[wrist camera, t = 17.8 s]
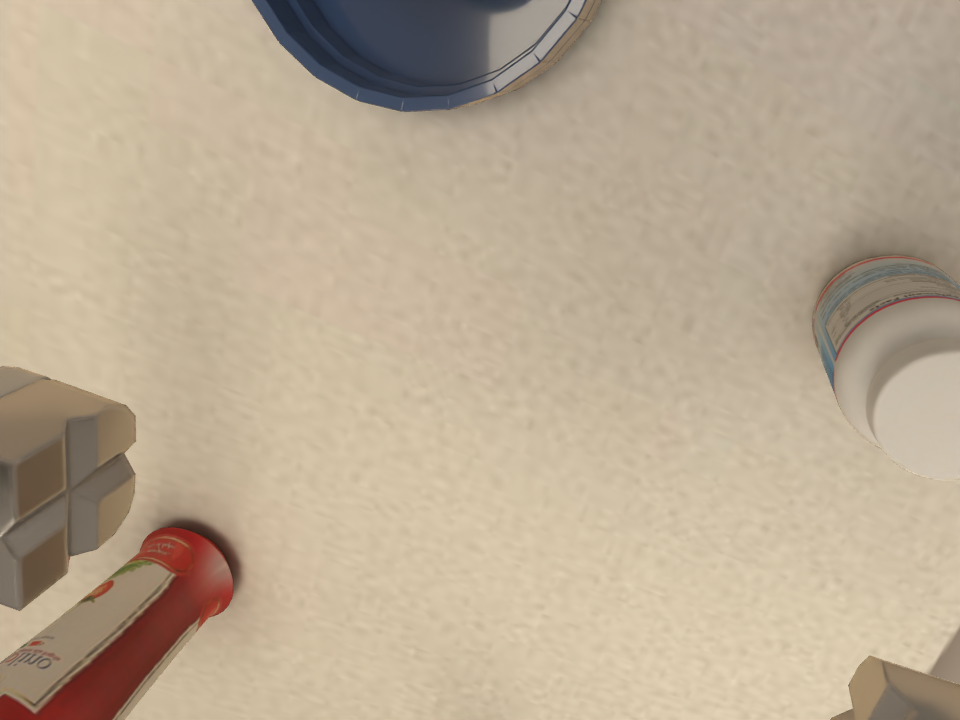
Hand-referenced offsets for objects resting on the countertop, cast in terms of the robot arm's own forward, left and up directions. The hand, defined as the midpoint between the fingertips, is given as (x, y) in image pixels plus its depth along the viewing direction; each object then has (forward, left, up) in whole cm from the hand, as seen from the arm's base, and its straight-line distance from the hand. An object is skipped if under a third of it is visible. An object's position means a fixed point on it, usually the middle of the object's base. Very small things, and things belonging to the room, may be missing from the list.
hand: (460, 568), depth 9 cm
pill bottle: (+4, +12, -31) cm, 33 cm away
